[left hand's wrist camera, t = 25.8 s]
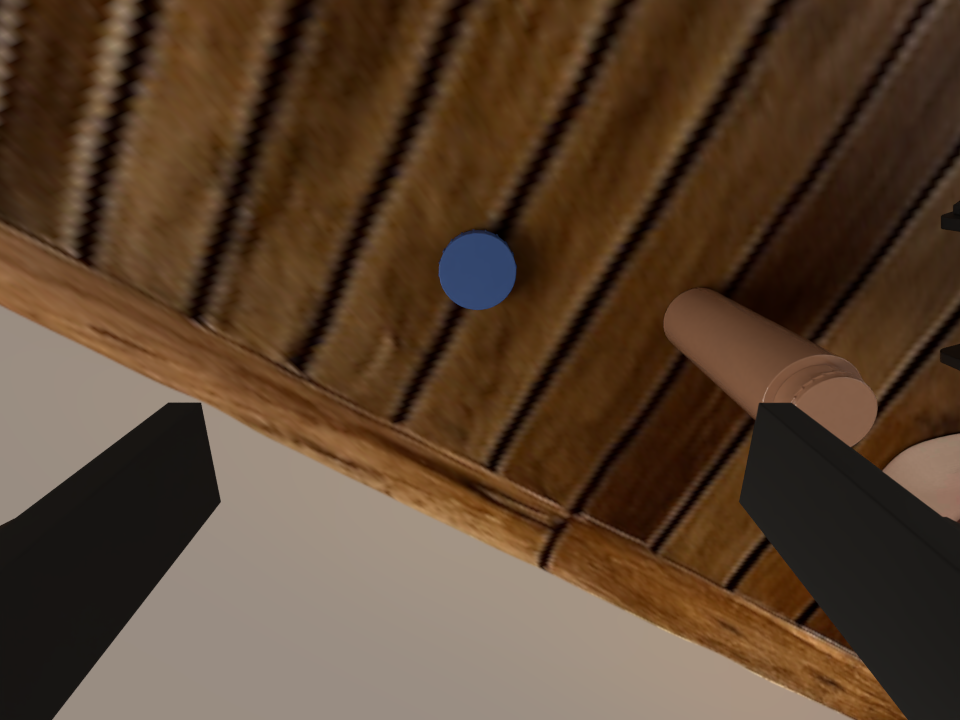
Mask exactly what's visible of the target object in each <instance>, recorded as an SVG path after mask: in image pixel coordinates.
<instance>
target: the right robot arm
mask: <svg viewBox="0 0 960 720" xmlns="http://www.w3.org/2000/svg"><path fill="white" fill-rule="evenodd" d="M941 229H946V230H953V231H959V232H960V201H959V202H957V203H956V204H954V205H953V212H950V213H947V214H944V215H942V216H941ZM940 362H942V363H944V364H946V365H949V366H951V367H953V368H955V369H957V370H960V344H958V345H954V346H950V347H946V348H943V349H941V350H940Z"/></svg>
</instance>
